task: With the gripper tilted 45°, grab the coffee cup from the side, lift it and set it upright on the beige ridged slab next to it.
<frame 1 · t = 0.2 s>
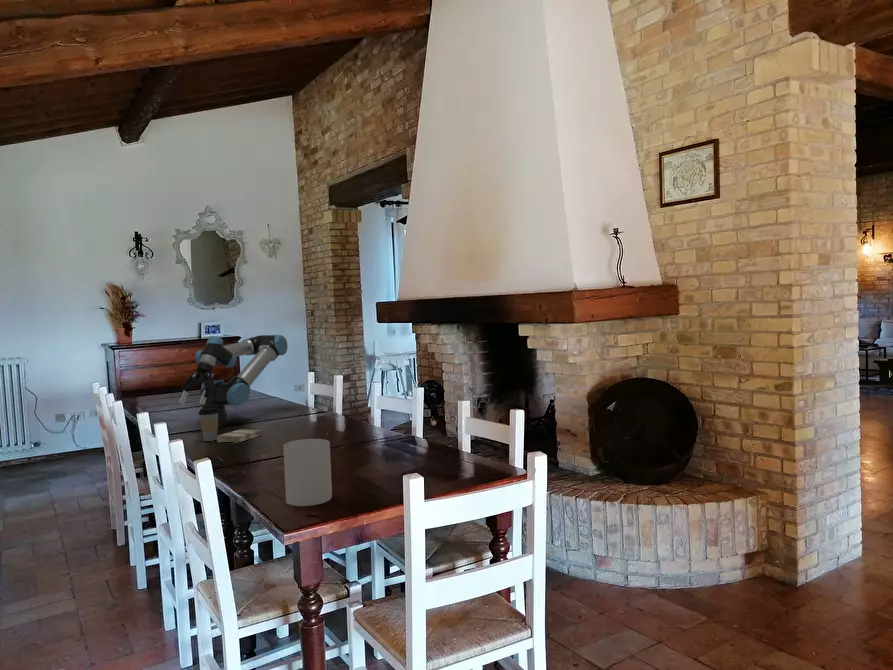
hand: (191, 403, 317), 16 cm above the table, tool tilted 35°, fingers open, 13 cm apart
beige ridged slab: (239, 439, 304), on the table
coffee cup: (210, 440, 304), on the table
container: (308, 500, 206), on the table
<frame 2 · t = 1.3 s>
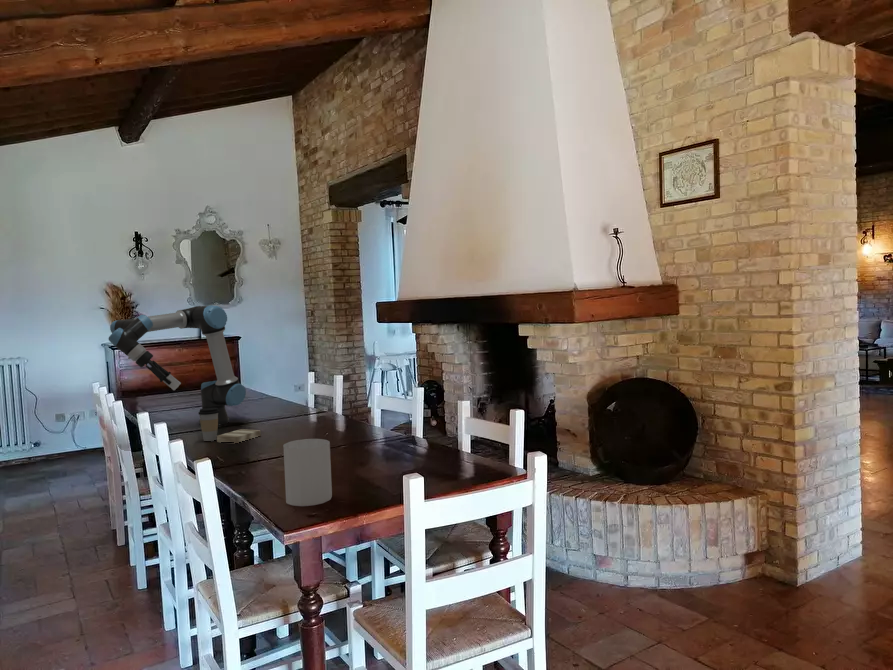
hand: (177, 386, 299), 26 cm above the table, tool tilted 45°, fingers open, 13 cm apart
nothing on the table moved.
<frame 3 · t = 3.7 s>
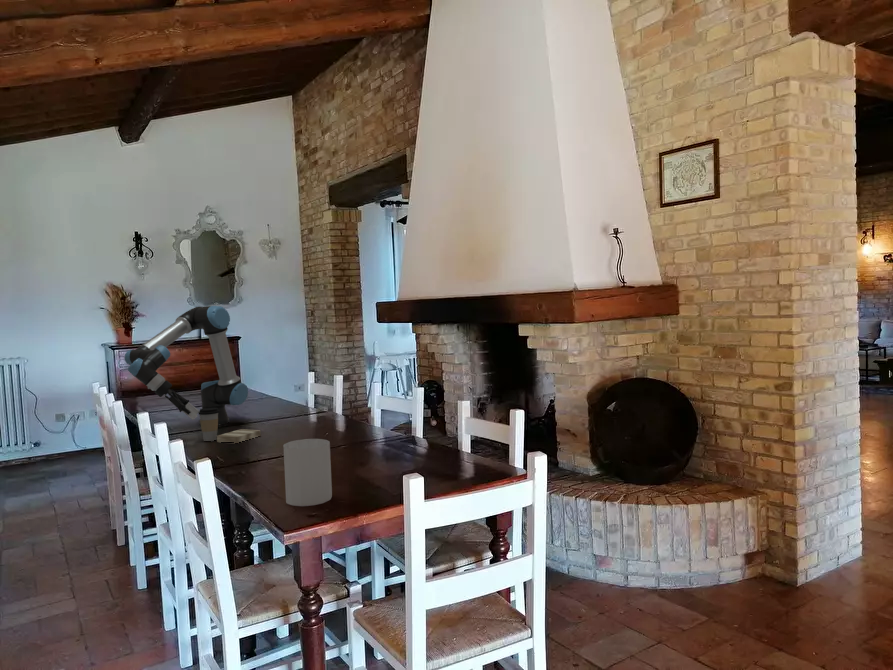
hand: (196, 415, 301), 12 cm above the table, tool tilted 45°, fingers open, 13 cm apart
nothing on the table moved.
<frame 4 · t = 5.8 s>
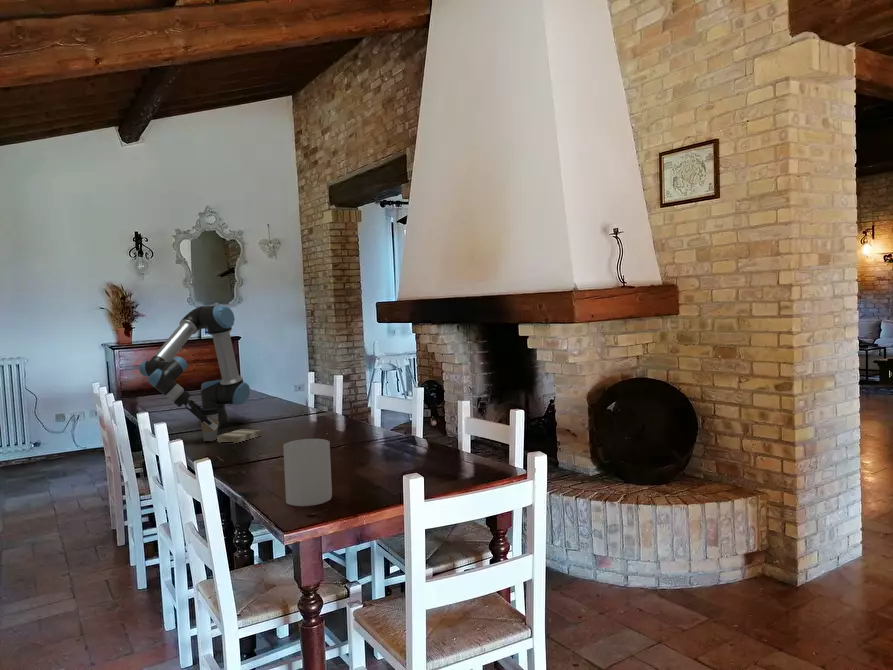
hand: (216, 426, 304), 6 cm above the table, tool tilted 45°, fingers closed on coffee cup, 9 cm apart
coffee cup: (210, 440, 304), on the table, touching gripper
everything else where it was.
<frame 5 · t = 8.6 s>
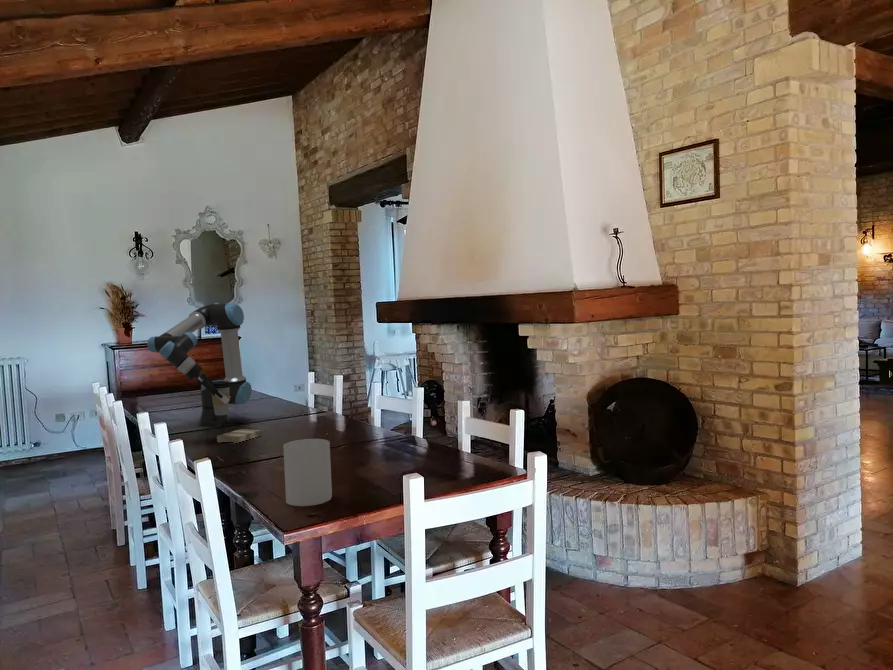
hand: (228, 400, 303), 19 cm above the table, tool tilted 45°, fingers closed on coffee cup, 9 cm apart
coffee cup: (221, 414, 303), point 12 cm above the table, touching gripper
everything else where it was.
when the fingers open (10 cm above the table, at t = 11.7 s): coffee cup drops 1 cm, resting on beige ridged slab.
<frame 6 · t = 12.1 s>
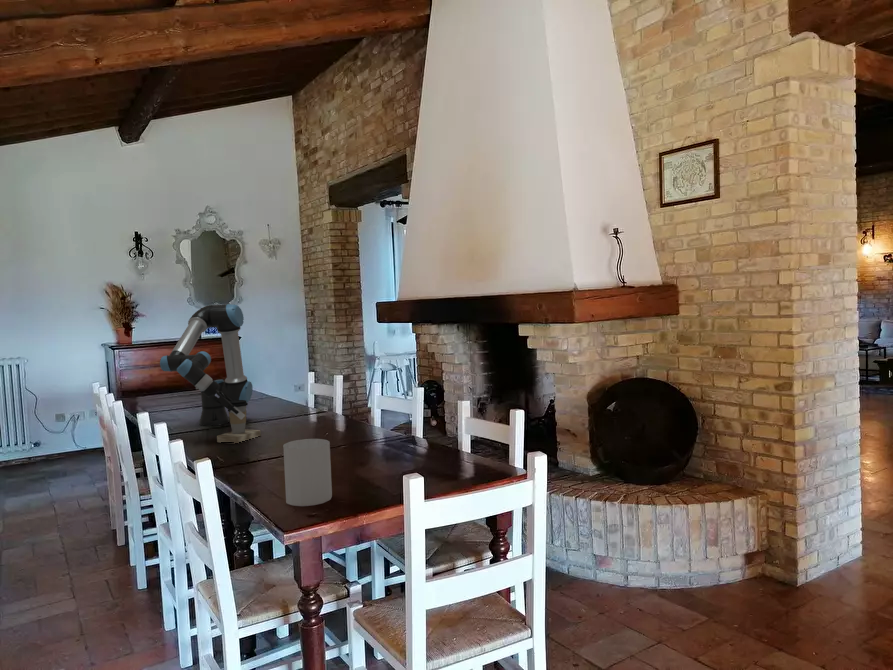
hand: (243, 415, 304), 11 cm above the table, tool tilted 45°, fingers open, 13 cm apart
coffee cup: (238, 433, 304), point 3 cm above the table, touching beige ridged slab
everything else where it was.
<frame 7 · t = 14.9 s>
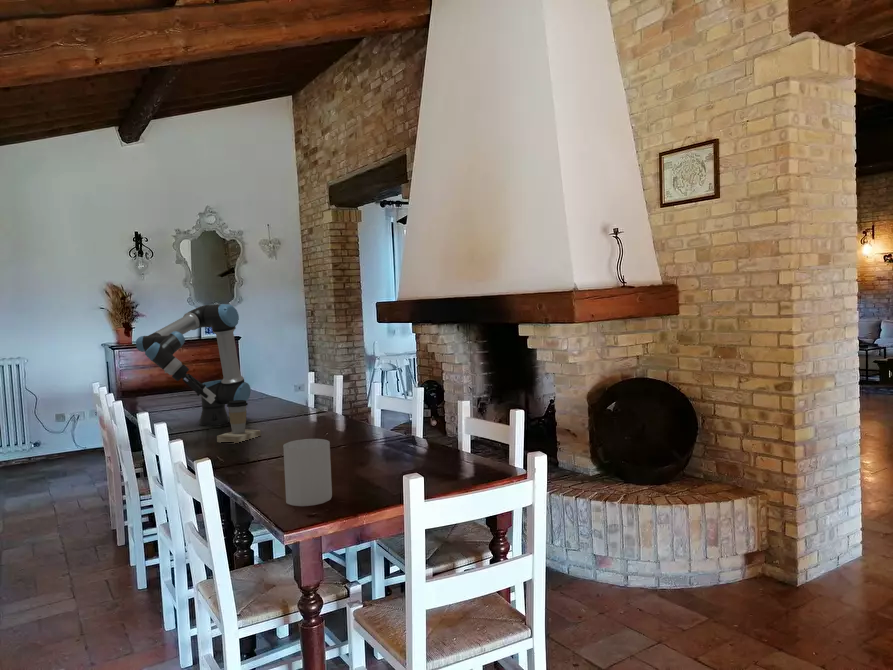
hand: (213, 399, 300), 20 cm above the table, tool tilted 45°, fingers open, 13 cm apart
nothing on the table moved.
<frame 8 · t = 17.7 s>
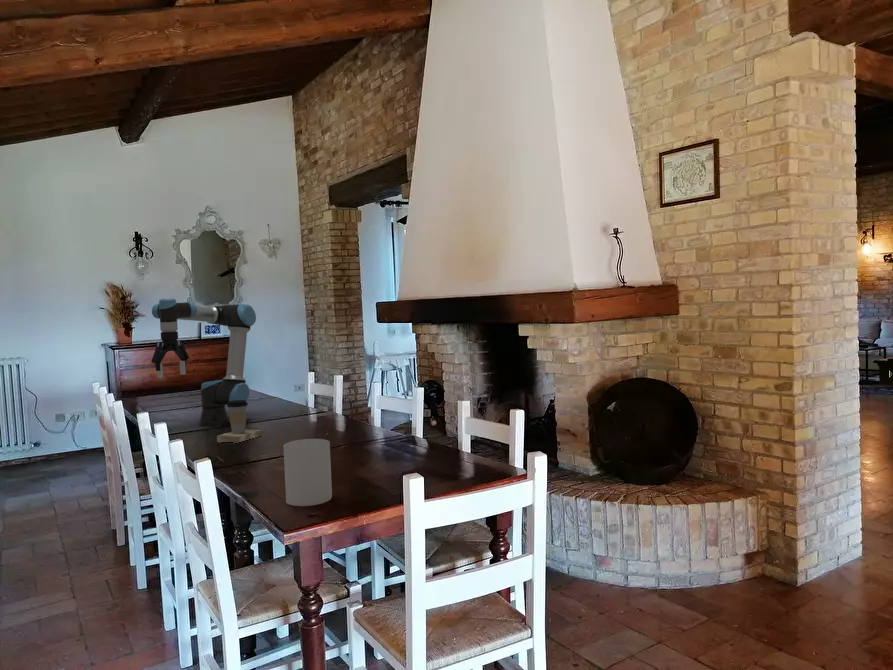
hand: (171, 376, 306), 31 cm above the table, tool pointing down, fingers open, 13 cm apart
nothing on the table moved.
at the end: coffee cup inside the target area on the beige ridged slab (0.4 cm from its centre), point 2.8 cm above the beige ridged slab's base; coffee cup tilted 0°; the gripper is holding nothing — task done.
